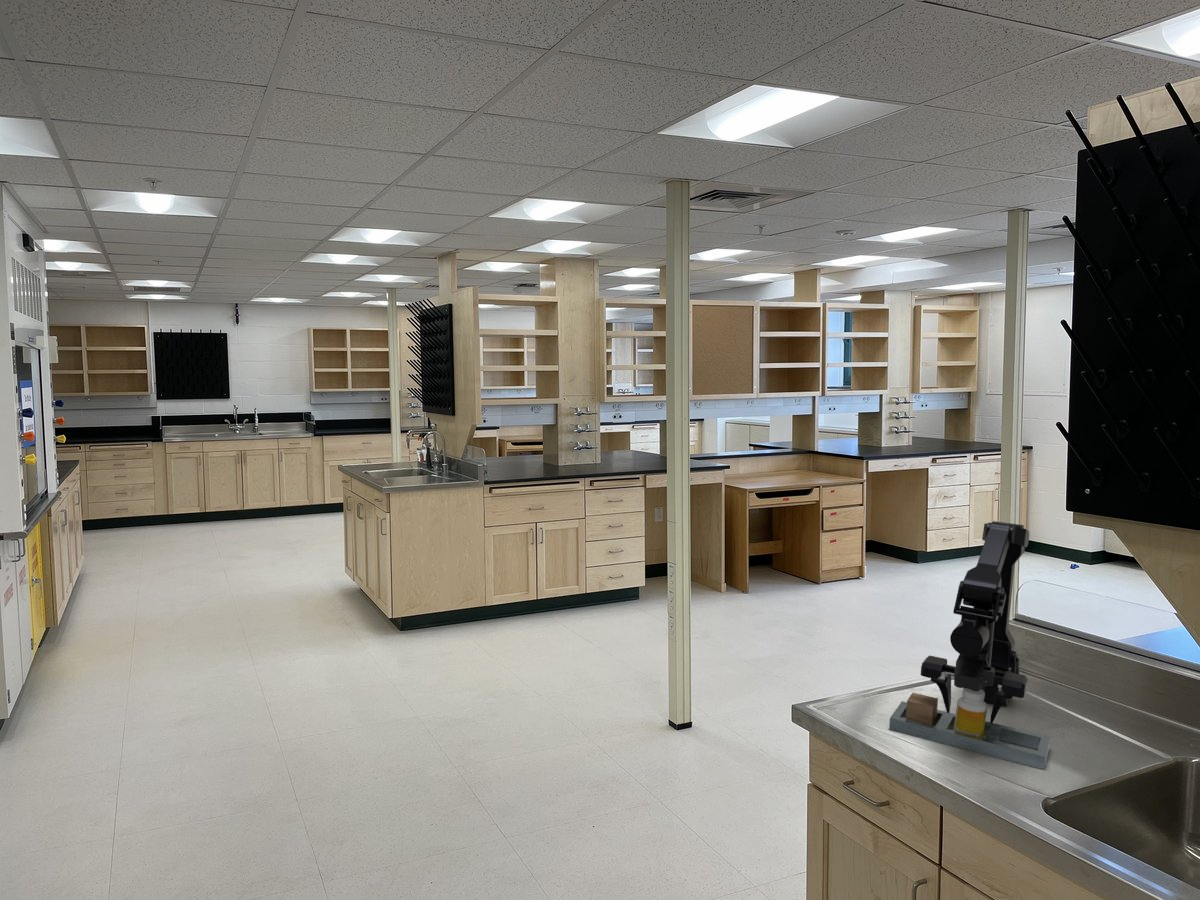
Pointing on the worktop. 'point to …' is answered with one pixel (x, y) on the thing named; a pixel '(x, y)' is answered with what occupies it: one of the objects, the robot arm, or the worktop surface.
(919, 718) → the walnut block
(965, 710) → the supplement bottle
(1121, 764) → the worktop surface
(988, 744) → the rail
